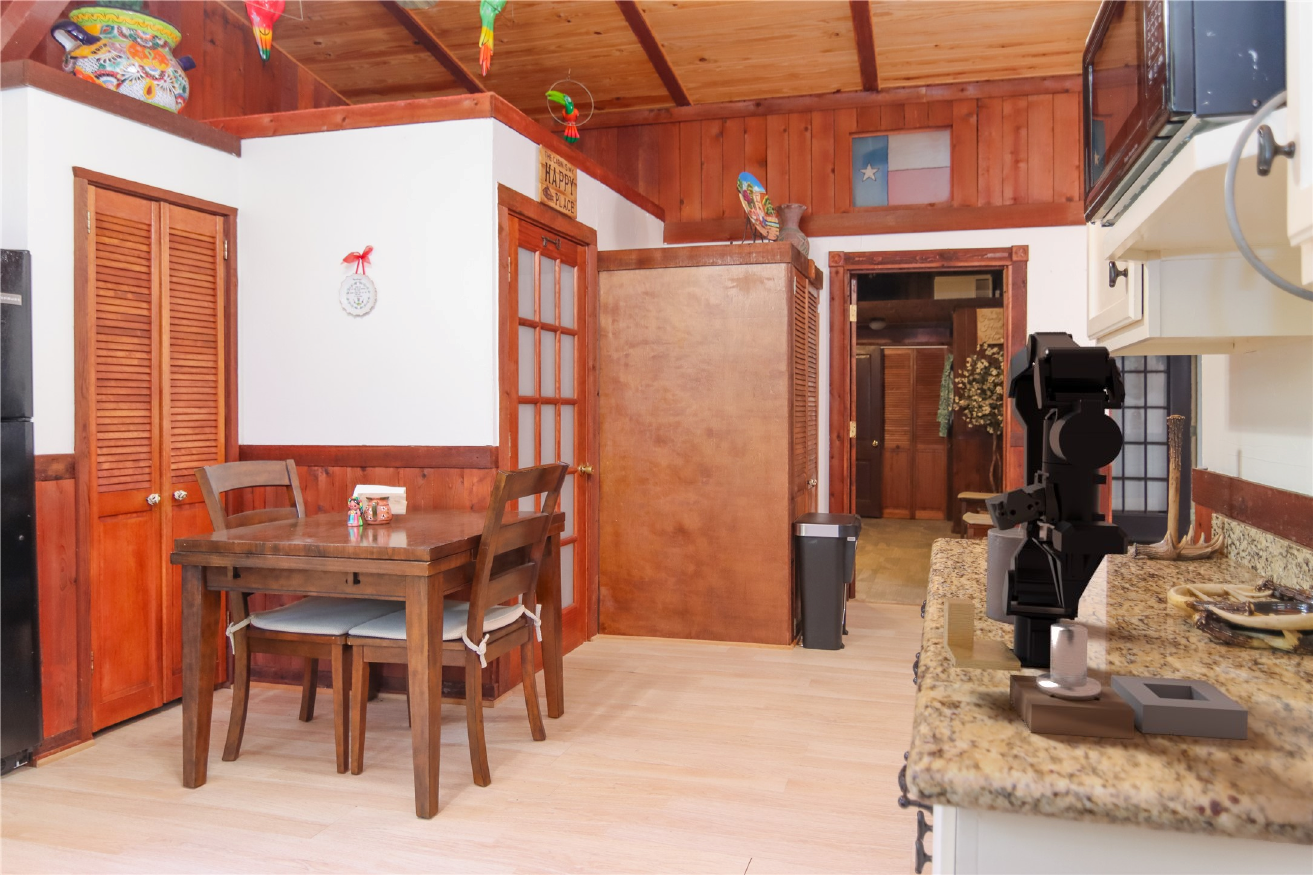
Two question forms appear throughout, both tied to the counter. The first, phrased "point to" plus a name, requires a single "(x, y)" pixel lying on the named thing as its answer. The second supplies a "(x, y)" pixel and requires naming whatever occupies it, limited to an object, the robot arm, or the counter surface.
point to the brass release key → (972, 640)
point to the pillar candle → (999, 569)
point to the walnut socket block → (1072, 711)
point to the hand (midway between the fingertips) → (1067, 606)
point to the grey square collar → (1181, 707)
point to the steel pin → (1068, 666)
